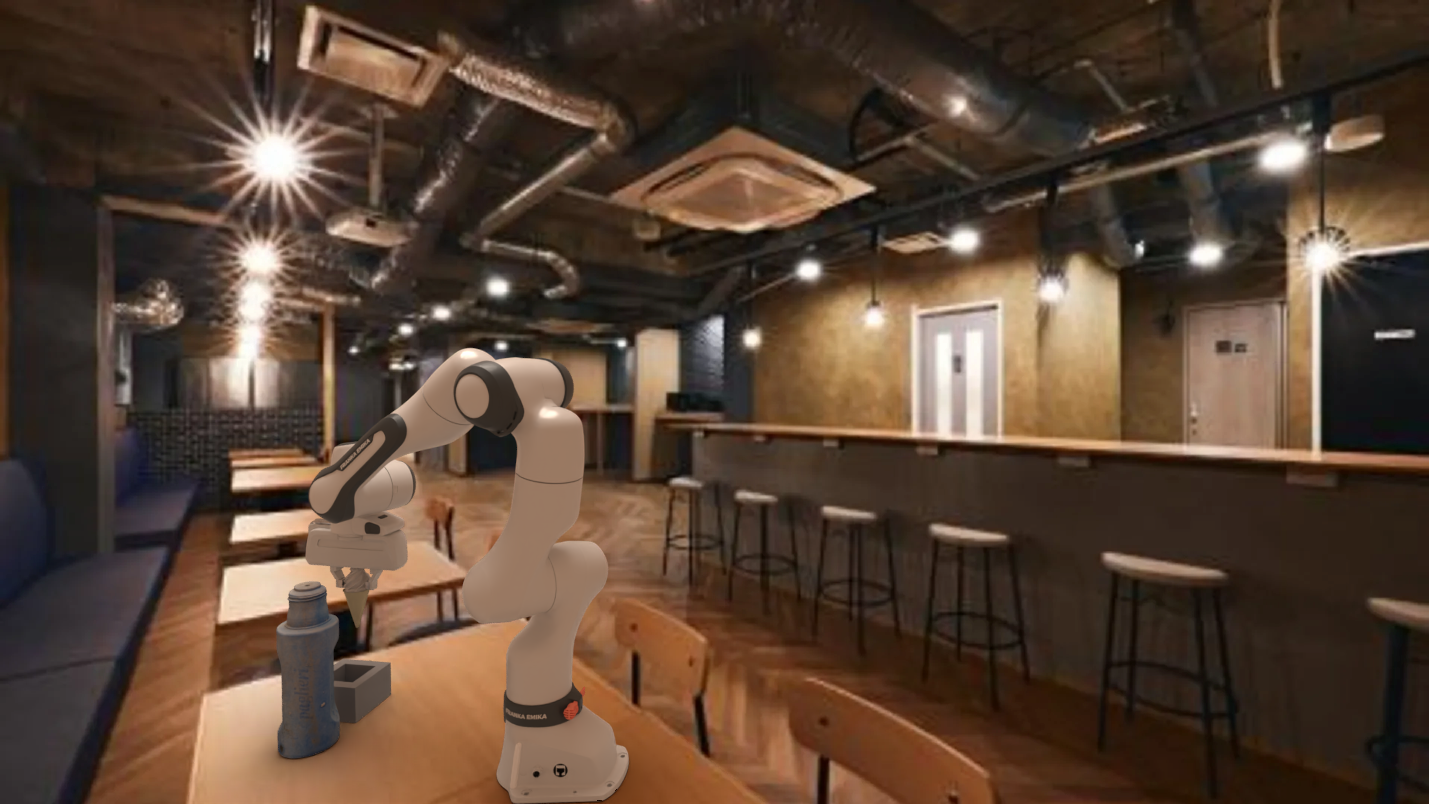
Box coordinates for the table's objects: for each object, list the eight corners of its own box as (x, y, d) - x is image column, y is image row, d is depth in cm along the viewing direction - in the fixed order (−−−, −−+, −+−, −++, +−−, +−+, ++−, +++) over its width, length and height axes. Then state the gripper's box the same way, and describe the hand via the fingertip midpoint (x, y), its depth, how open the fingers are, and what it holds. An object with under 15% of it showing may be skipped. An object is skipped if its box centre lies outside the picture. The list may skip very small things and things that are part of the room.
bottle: (284, 735, 120) (280, 579, 119) (344, 724, 124) (341, 573, 123) (271, 765, 112) (267, 596, 110) (336, 752, 115) (333, 589, 114)
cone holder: (391, 694, 136) (390, 662, 135) (355, 723, 125) (355, 688, 124) (343, 690, 137) (343, 658, 137) (304, 718, 126) (303, 683, 126)
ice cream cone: (376, 623, 132) (376, 551, 131) (361, 633, 127) (360, 559, 126) (353, 621, 132) (352, 550, 131) (337, 631, 127) (336, 557, 126)
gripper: (296, 521, 126) (298, 589, 127) (392, 527, 124) (393, 597, 125) (320, 514, 133) (321, 579, 134) (412, 519, 130) (412, 586, 131)
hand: (356, 588), depth 129 cm, fingers closed on ice cream cone, 5 cm apart
